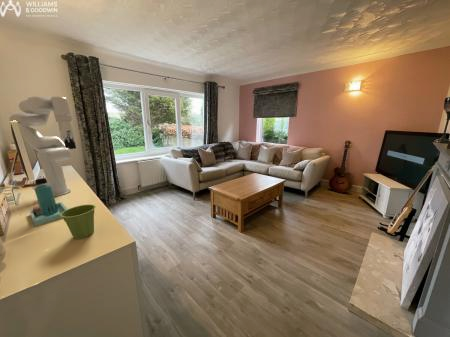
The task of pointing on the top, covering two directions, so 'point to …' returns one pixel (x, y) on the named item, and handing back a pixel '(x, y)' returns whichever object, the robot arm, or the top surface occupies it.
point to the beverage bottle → (45, 198)
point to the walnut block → (37, 211)
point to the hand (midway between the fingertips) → (70, 148)
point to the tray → (45, 219)
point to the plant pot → (80, 220)
